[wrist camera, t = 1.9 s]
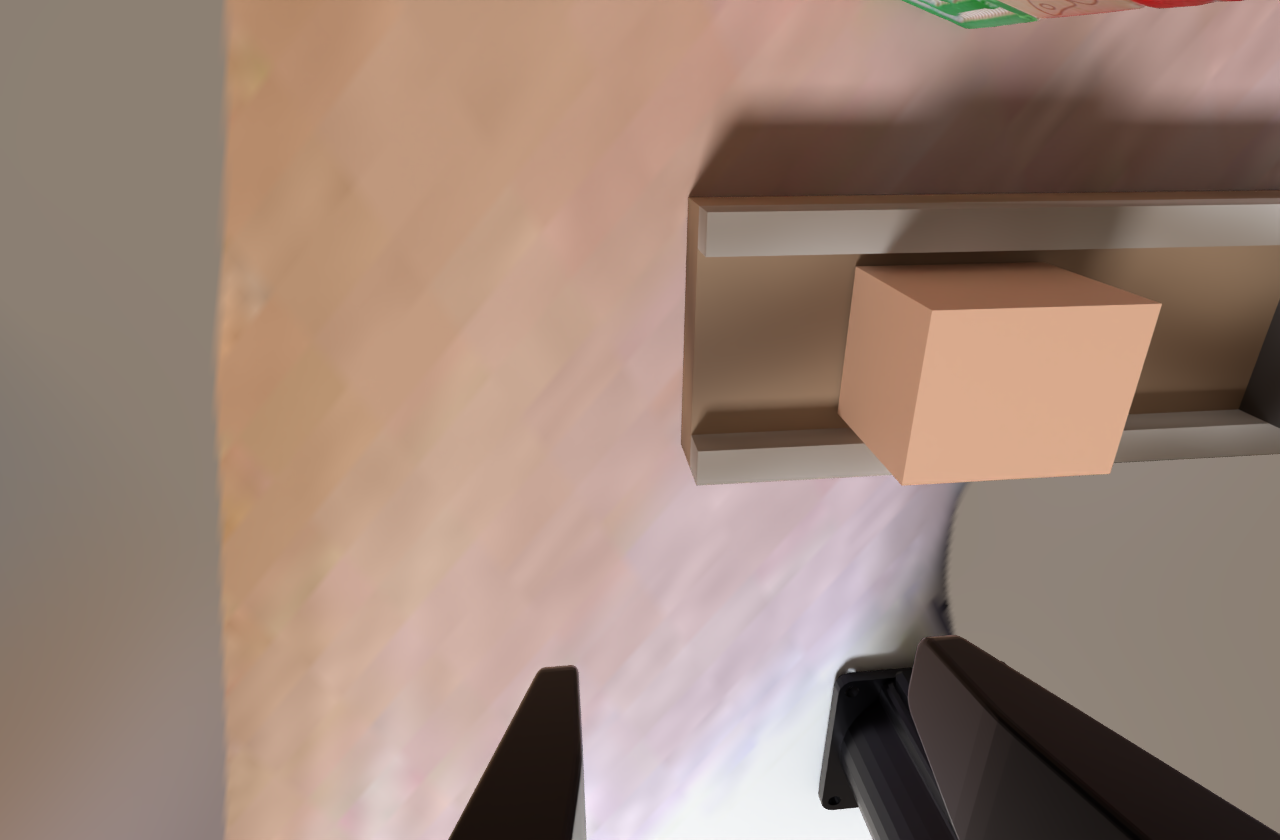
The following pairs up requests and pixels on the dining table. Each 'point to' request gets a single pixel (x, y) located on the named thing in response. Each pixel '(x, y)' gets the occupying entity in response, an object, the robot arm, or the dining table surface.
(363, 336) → the dining table surface
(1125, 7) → the stack of blocks
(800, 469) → the track
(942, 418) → the block
